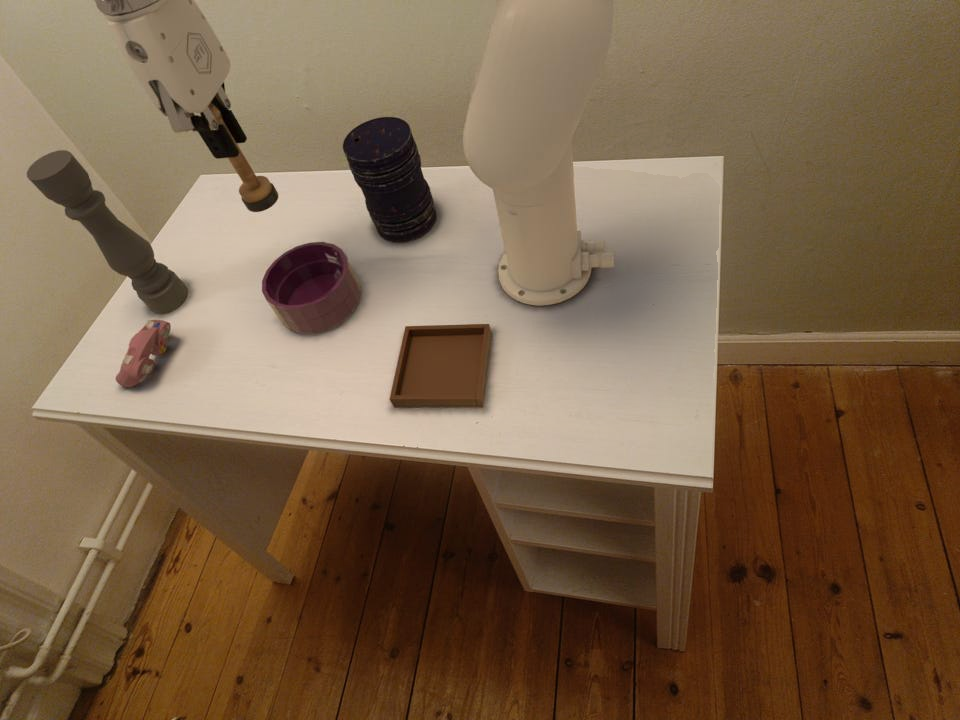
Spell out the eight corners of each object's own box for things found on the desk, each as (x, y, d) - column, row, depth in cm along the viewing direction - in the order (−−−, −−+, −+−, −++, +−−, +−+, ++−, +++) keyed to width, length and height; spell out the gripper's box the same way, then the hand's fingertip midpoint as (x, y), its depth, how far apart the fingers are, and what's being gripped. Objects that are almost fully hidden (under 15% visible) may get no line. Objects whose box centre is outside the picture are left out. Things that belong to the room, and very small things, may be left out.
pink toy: (148, 397, 86) (139, 374, 80) (115, 387, 85) (103, 363, 79) (181, 340, 91) (174, 315, 85) (150, 331, 90) (141, 304, 85)
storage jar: (441, 197, 97) (416, 112, 85) (433, 241, 91) (405, 157, 79) (381, 202, 99) (349, 120, 87) (370, 245, 93) (334, 164, 81)
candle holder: (196, 288, 95) (83, 152, 75) (170, 317, 92) (46, 184, 72) (167, 280, 97) (51, 146, 77) (141, 308, 94) (14, 177, 74)
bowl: (369, 269, 90) (356, 239, 86) (351, 335, 83) (335, 306, 79) (294, 272, 93) (276, 244, 88) (270, 337, 86) (250, 310, 81)
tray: (491, 333, 79) (489, 323, 78) (483, 407, 73) (480, 399, 71) (409, 335, 82) (405, 326, 80) (394, 407, 75) (389, 399, 74)
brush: (283, 188, 80) (229, 93, 69) (272, 211, 78) (215, 116, 67) (253, 190, 81) (196, 97, 70) (241, 213, 79) (180, 120, 68)
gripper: (129, 23, 53) (236, 191, 68) (198, -58, 62) (280, 107, 77) (58, 34, 55) (178, 196, 69) (135, -46, 64) (227, 112, 78)
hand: (231, 148), depth 73 cm, fingers closed on brush, 2 cm apart
